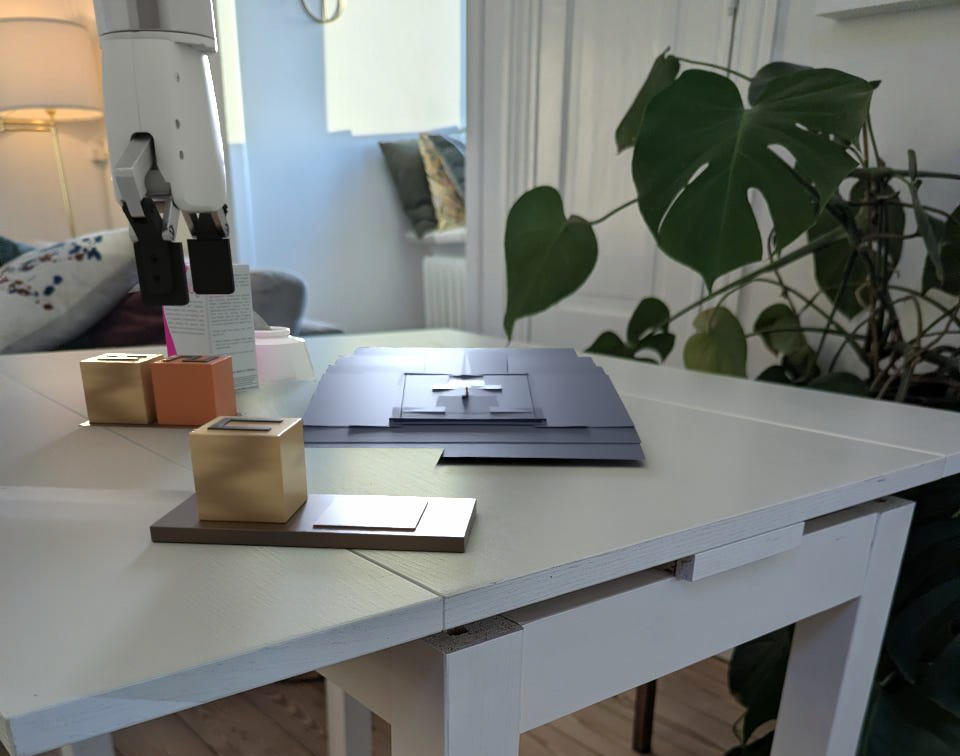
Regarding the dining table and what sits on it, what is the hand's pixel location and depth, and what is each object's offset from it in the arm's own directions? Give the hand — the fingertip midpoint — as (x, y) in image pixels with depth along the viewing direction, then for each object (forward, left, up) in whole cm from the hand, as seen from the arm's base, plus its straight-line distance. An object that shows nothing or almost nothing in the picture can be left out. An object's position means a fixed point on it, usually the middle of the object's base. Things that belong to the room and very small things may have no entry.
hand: (192, 299), depth 69 cm
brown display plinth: (+15, -24, -10) cm, 29 cm away
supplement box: (-4, +14, -10) cm, 18 cm away
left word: (-3, 0, -10) cm, 10 cm away
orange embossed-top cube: (0, 0, -9) cm, 9 cm away
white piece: (-6, +23, -10) cm, 26 cm away
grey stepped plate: (+20, +5, -10) cm, 23 cm away
